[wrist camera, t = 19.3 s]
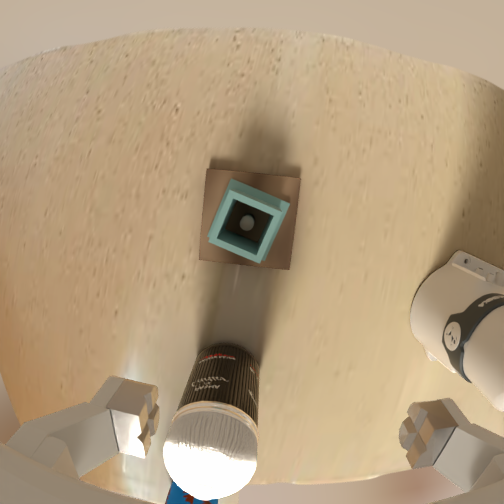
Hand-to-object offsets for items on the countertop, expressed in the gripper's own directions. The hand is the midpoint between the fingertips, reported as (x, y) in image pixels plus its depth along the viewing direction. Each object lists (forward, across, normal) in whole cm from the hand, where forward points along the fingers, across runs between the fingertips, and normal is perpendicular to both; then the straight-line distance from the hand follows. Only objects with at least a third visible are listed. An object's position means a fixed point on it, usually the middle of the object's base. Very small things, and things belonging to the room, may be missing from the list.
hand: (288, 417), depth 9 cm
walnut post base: (+35, +3, -2) cm, 35 cm away
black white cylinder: (+35, +4, +21) cm, 41 cm away
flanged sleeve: (+34, +3, -2) cm, 34 cm away
